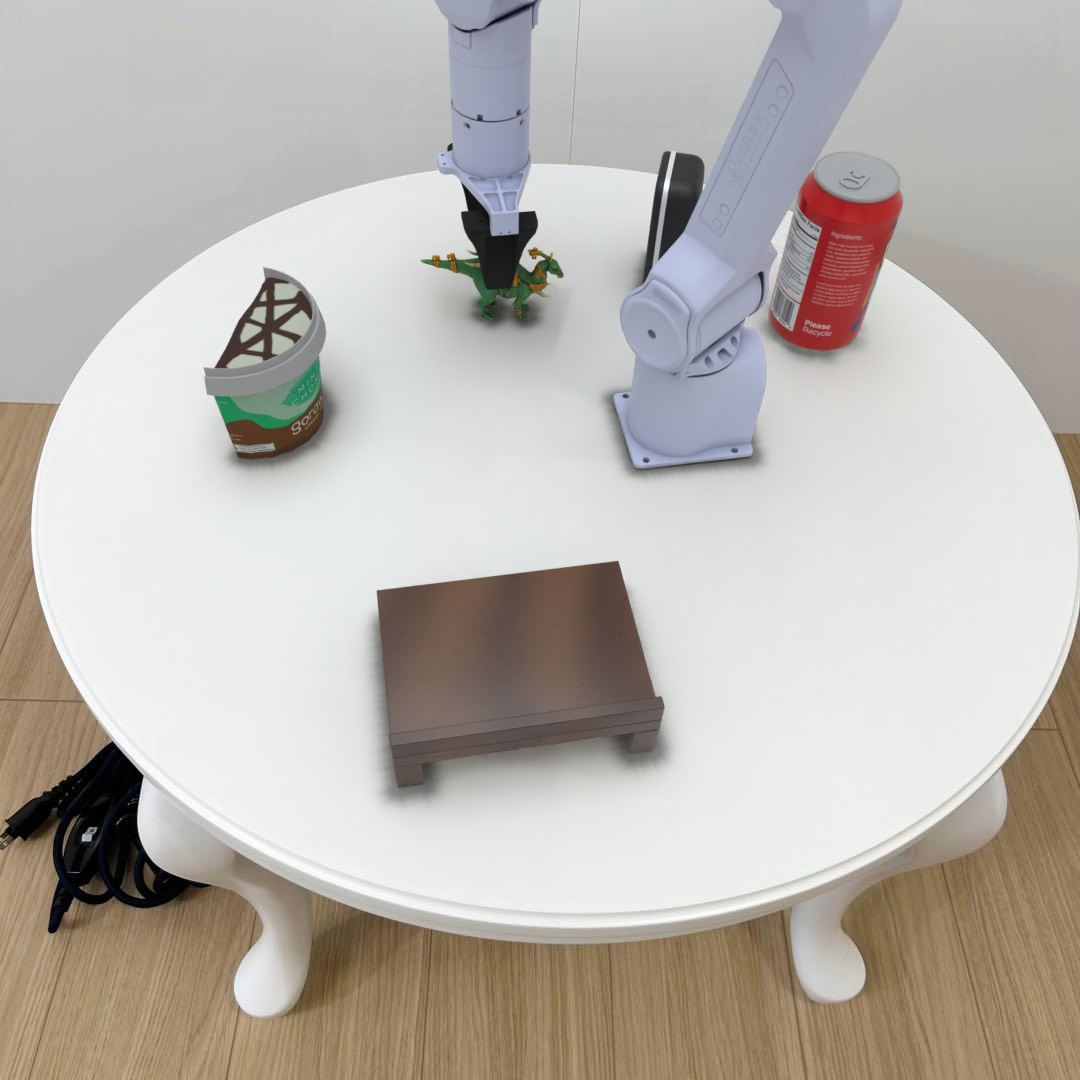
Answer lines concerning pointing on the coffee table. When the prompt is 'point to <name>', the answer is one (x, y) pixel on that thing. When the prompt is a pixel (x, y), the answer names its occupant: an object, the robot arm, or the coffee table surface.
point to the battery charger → (673, 202)
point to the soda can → (835, 250)
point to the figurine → (520, 288)
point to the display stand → (513, 665)
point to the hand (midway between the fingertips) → (491, 256)
